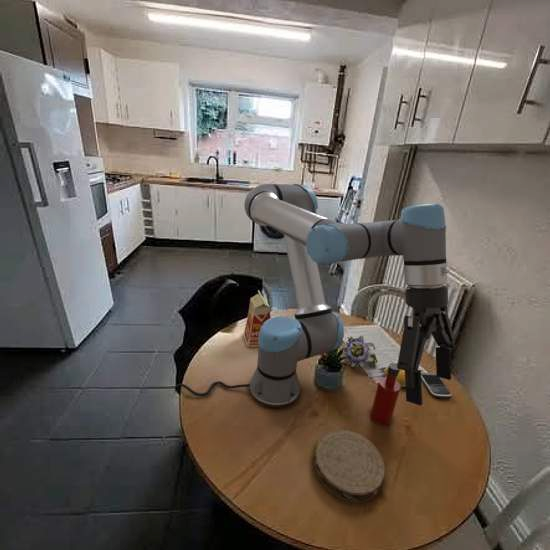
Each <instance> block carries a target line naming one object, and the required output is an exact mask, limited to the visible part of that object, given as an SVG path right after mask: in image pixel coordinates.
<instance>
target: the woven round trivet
mask: <svg viewBox="0 0 550 550" xmlns="http://www.w3.org/2000/svg"><path fill="white" fill-rule="evenodd" d="M313 458H314V459H313V463H314V470H315V473H316V475H317V477H318V479H319V481H320V482H321V484H322V485H323V487H324V488H325V489H326V490H327V491H328V492H330V493H331V494H332V495H334V496H335V497H337V498H338V499H341V500H344V501H346V502H348V503H363V502H367V501H370V500H372V499H373V498H374V497H376V495H377V494H378V493H379V491H380V489H381V487H382V484H383V481H384V478H385V463H384V460H383V456H382V454H381V453H380V452H379V450H378V449H377V447H376V445H374V444H373V443H372V442H371V441H370V440H369V439H368V438H367V437H364V436H363V435H361V434H360V433H357V432H354V431H351V430H349V429H335V430H331V431H328V432H327V433H325V434H323V435H322V436H321V437H320V439H319V440H318V442H317V444H316V449H315V454H314V457H313Z"/></svg>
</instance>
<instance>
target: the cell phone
mask: <svg viewBox="0 0 550 550" xmlns="http://www.w3.org/2000/svg"><path fill="white" fill-rule="evenodd" d="M421 382H423V384H424V385H425V387H426V388H427V390H428V392H429V393H430V394H431V396H432V397H434V398H451V397H452V393H451V392H450V390H449V389H448V387H447V386H446V384H444V382H443V381H442V378H440V377H437V373H436V372H421Z"/></svg>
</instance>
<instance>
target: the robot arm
mask: <svg viewBox="0 0 550 550" xmlns="http://www.w3.org/2000/svg"><path fill="white" fill-rule="evenodd" d="M243 204H244V205H243V207H244V212H245V214H246V216H247V218H248V219H249V220H250V221H252V222H253V223H255V224H257V225H258V226H261V227H269V228H271V229H273V230H275V231H277V232H279V233H280V234H282V235H283V239H284V244H285V248H286V254H287V259H288V263H289V264H288V265H289V269H290V274H291V275H290V276H291V279H292V284H293V289H294V294H295V301H296V306H297V308H296V310H295V312H294V315H293V316H294V317H293V316H289V315H286V316H284V315H277V316H276V315H275V316H273V317H271V318H270V319H268V320H267V321H265V322H264V323H263V325H262V327H261V329H260V334H259V338H258V343H259V346H258V347H257V348H258V349H257V362H256V363H257V365H256V368H255V370H254V372H253V374H252V377H251V379H250V381H249V382H250V383H244V384H243V383H242V384H234V385H228V384H226V383H224V382H223V381H219V380H218V381H215V382H213V383H211V384H210V386H209V388H208V389H207V390H206V392H203V393H202V392H201V393H200V392H197V391H194V390H193V389H192V388H190V387H189V386H188V385H186V384H184V383H177V384H176V385H174V388H176V389H177V388H179V387H180V388H181V387H182V388H184V389H186V390H187V391H188V392H190V393H191V394H193V395H194V396H197V397H205V396H207V395H209V394H210V392H211V391H212V389H214V387H215V386H216V385H220V386H223V387H224V388H225V389H237V388H247V387H249V393H250V395H251V397H252V399H253V400H254V401H255V402H256V403H257V404H258V405H261V406H263V407H265V408H268V409H284V408H286V407H290V406H292V405H294V403H295V402H297V400H298V399H299V396H300V390H301V385H300V382H299V381H300V380H299V378H298V377H299V376H298V374H297V366H298V363H299V362H301V361H305V360H307V359H310V358H313V357H316V356H319V355H320V356H321V355H323V354H324V355H325V354H328V353H330V352H332V351H335V350H337V349H338V348H340V346H341V344H342V343H343V340H344V337H345V329H344V328H345V327H344V324H343V321H342V319H341V318H340V316H339V315H338V314H337V313H335V312H333V310H332V307H331V306H330V304H329V305H328V304H327V303H326V301H325V295H324V291H323V290H324V289H323V285H322V281H321V276H320V271H319V270H320V269H319V266H318V264H331V265H332V264H337V263H341V262H348V261H349V262H350V261H354V260H362V259H363V260H364V259H371V258H372V259H373V258H377V257H390V256H391V257H392V256H402V258H403V277H404V278H403V280H404V281H403V283H404V285H406V287H405V288H404V296H405V304H406V306H408V307H410V308H412V315H404V317H403V331H402V337H401V344H400V348H399V353H398V360H397V363H396V364H397V368H398V369H401V370H405V385H406V387H405V401H406V402H408V403H411V404H413V405H416V406H422V405H423V387H422V379H421V373H422V370H421V369H419V368H420V364H421V361H422V357H423V353H424V350H425V346H426V343H427V340H429V339H430V338H431V336H432V337H433V340H434V341H435V344H436V345H437V346H436V347H435V364H436V365H435V373H436V374H437V377H439V378H440V379H444V380H447V381H451V380H452V361H451V359H452V356H451V354H452V353H451V350H452V349H453V350H455V349H456V343H455V341H456V339H455V335H454V332H453V328H452V324H451V320H450V317H449V312H448V311H449V309H448V305H449V288H448V287H447V285H446V284H447V283H448V274H449V273H450V269H449V268H447V267H448V265H447V238H446V237H447V236H446V235H447V225H446V217H445V209H444V207H443V205H441V204H439V203H425V204H417V205H412V206H407V207H404V208H402V210H401V213H400V218H399V219H392V220H384V221H369V222H354V223H341V222H338V221H335V220H332V219H330V218H327V217H325V216H322V215H319V214H318V209H319V203H318V198H317V195H316V193H315V192H314V190H313V189H312V188H311V187H309V186H308V185H306V184H299V183H291V184H289V183H287V184H286V183H263V184H259V185H257V186H255V187H253V188H252V189H251V190H250V191H249V192H248V193H246V197H245V199H244V203H243Z"/></svg>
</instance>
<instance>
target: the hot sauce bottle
mask: <svg viewBox="0 0 550 550" xmlns="http://www.w3.org/2000/svg"><path fill="white" fill-rule="evenodd" d="M397 364H398V363H394V362H391V363H389V364H388V366H389V367H388V366H387V367H388V374H387V377H386V376H382V377H380V378H379V380H378V383H377V387H376V391H375V394H374V399H373V403H372V407H371V410H370V417H371V419H372V420H373V421H374V422H375V423H377V424H379V425H383V426H386V425H389V424H391V422H392V419H393V418H392V417H393V415H394V411H395V408H396V404H397V401H398V398H399V395H400V391H401V388H402V387H401V386H400V384H399V383H398V382H397V381H396V378H397V376H398V374H399V371H400V369H398V368H397Z"/></svg>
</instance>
